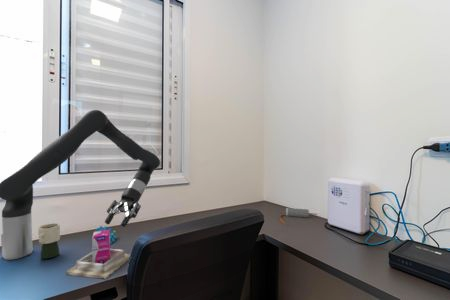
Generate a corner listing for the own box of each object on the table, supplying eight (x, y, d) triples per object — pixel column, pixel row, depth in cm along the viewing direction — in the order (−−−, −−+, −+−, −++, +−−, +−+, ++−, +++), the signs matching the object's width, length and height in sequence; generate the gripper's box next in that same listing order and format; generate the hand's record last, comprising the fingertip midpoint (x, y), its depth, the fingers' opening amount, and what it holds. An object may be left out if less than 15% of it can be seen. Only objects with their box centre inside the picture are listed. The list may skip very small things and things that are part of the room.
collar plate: (66, 274, 83) (65, 264, 83) (98, 253, 99) (98, 245, 99) (105, 279, 80) (105, 269, 80) (132, 256, 96) (132, 248, 96)
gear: (102, 245, 103) (92, 227, 106) (94, 253, 104) (85, 235, 107) (121, 239, 113) (112, 222, 116) (114, 247, 114) (105, 230, 117)
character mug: (50, 250, 102) (49, 221, 101) (67, 250, 102) (66, 221, 102) (30, 263, 91) (29, 230, 91) (49, 263, 91) (48, 230, 91)
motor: (280, 213, 153) (280, 206, 152) (316, 216, 146) (316, 208, 146) (277, 231, 131) (277, 223, 130) (320, 236, 125) (320, 227, 124)
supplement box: (92, 267, 86) (91, 237, 85) (94, 260, 91) (93, 231, 91) (109, 264, 88) (109, 234, 88) (110, 257, 93) (110, 229, 93)
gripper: (117, 185, 105) (95, 218, 95) (142, 187, 100) (122, 222, 90) (126, 194, 111) (107, 226, 100) (150, 197, 105) (132, 231, 95)
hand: (114, 224), depth 95 cm, fingers open, 8 cm apart
